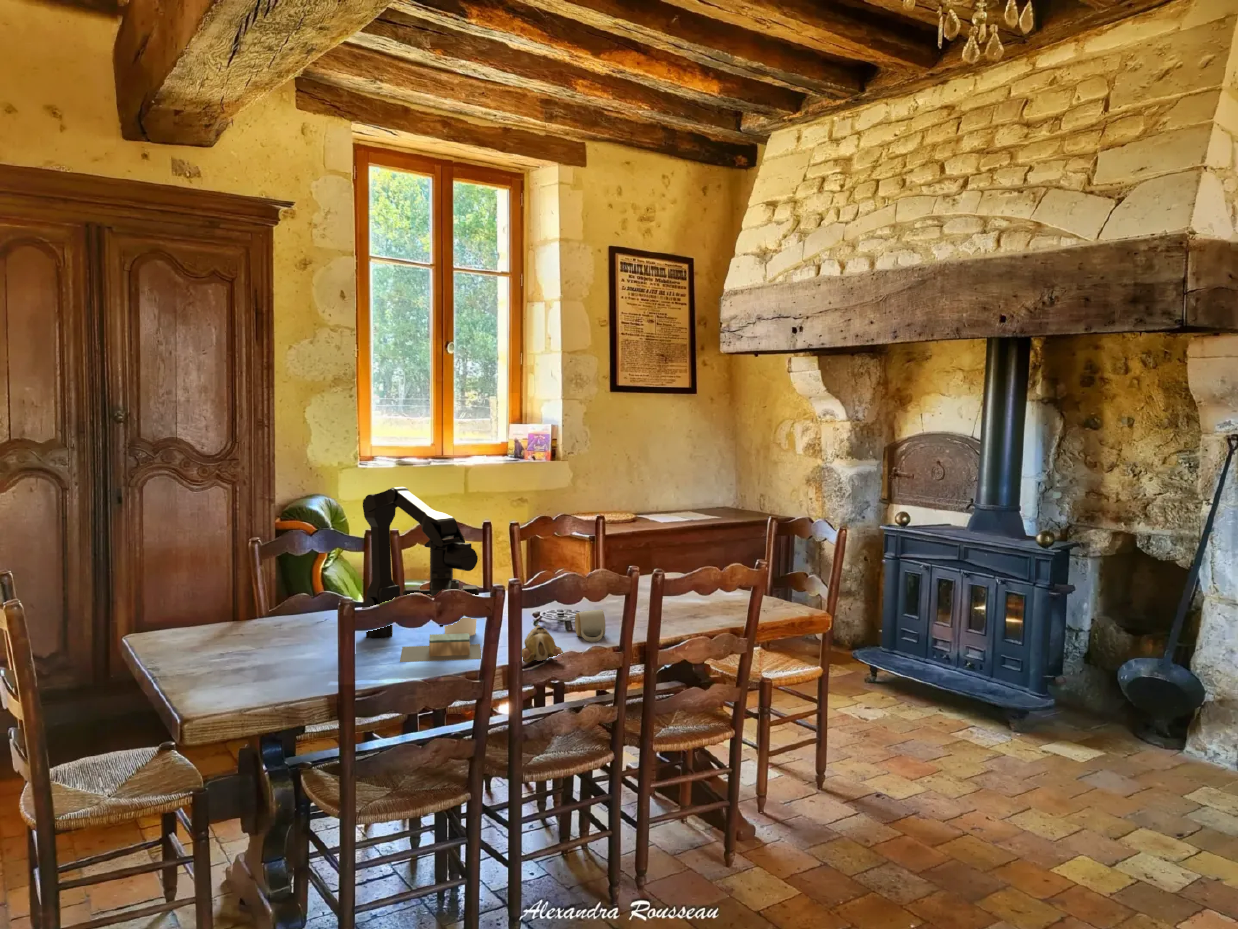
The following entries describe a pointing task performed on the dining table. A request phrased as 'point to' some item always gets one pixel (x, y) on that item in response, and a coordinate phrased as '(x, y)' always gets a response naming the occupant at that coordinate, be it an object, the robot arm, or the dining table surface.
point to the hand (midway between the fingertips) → (441, 626)
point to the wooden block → (449, 644)
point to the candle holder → (462, 627)
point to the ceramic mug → (590, 625)
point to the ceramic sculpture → (539, 645)
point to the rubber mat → (423, 655)
